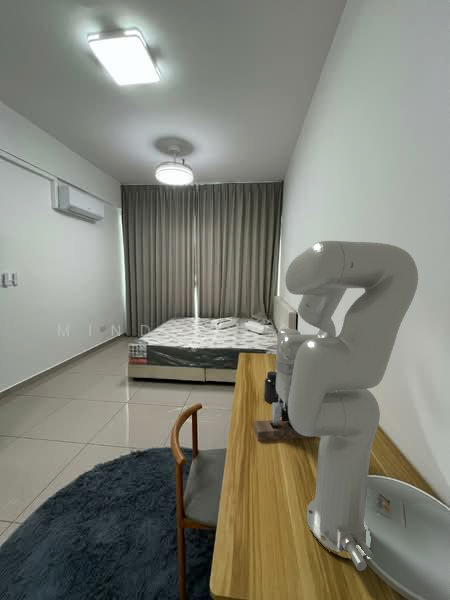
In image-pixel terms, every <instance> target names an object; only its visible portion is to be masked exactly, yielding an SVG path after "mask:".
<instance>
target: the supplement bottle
mask: <svg viewBox="0 0 450 600" xmlns="http://www.w3.org/2000/svg"><path fill="white" fill-rule="evenodd" d="M266 373H267V375H266V378H264V390H263V400H264V401H265V402H267V403H269V404H272V403H277V402H278V398H279V396H278V393H277V392H276V375H277V372H276V371H268V372H266Z"/></svg>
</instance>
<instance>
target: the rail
mask: <svg viewBox="0 0 450 600" xmlns="http://www.w3.org/2000/svg"><path fill="white" fill-rule="evenodd" d="M253 432H254V434H255V437H256V439H257V441H272V440H273V441H274V440H291V439H292V440H293V439H309V438H311V439H312V438H316V437H317V436H314V437H311V436H304V435H301V434H299V433H298V432H296V431H295V430H294V428H293V427H292V425H290V423H289V421H286V422H283V421H282V419H280V426H273V424H272V419H270V420H253Z"/></svg>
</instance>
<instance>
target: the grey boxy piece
mask: <svg viewBox="0 0 450 600" xmlns="http://www.w3.org/2000/svg"><path fill="white" fill-rule="evenodd" d="M271 404H272V405H271V414H272V415H271V420H272V424H273V426H280V420H281V418H282V410H283V402H277V403H271ZM287 405H288V404H286V406H287ZM289 423H290V421H289ZM290 425H291V423H290Z"/></svg>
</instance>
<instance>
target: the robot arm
mask: <svg viewBox="0 0 450 600" xmlns="http://www.w3.org/2000/svg"><path fill="white" fill-rule="evenodd" d="M418 281H419V271H418V268H417V265H416V262H415V260H414V258H413V257H412V255H411V254H410V253H409V252H408V251H406V250H405V249H404V248H401V247H398V246H396V245H392V244H389V243H383V242H371V241H370V242H369V241H346V240H345V241H344V240H343V241H342V240H323V241H318V242H316V243H314V244H312V245H311V246H309V247H308V248H306V249H305V250H303V251H302V252H300V254H298V255H296V256H295V258H294V259H293V260H292V261H291V262H290V264H289V265H288V267H287V269H286V273H285V288H286V289H287V291H288V292H289V293H290V294H293V295H295V296H296V295H297V296H298V295H299V296H300V295H301V300H300V301H299V304H298V308H297V311H298V315H299V318H300V319H302V320H303V321H304V322H306V324H309V326H310V325H311V326H312V327H314V328H317V329H319V330H318V332H317V334H316V333H315V334H301V332H300V331H299V330H298V329H294V328H281V329H279V330H278V332H277V340H276V357H275V358H276V359H275V371H276V370H277V375H276V392H277V393H278V396H279V398H278V402H283V410H282V417H281V420H282V421H283V422H286V421H290V423H291V425H292V427H293V428H294V430H295V431H296V432H298V433H299V434H301V435H304V436H311V437H313V438H315V437H314V436H316V437H320V440H319V444H318V451H317V465H316V481H315V493H314V494H315V497H314V499H312V500H311V501H310V502H309V503H308V506H307V509H306V522H308V523H307V525H309V526H308V528H309V527H310V529H311V530H312V532H313V533H314V535H315V536H316V537H317V538H318V539H319V540H320V541H321V542H322V543H323V544H324V545H325V546H327V547H328V548H330V549H331V550H334V551H336V552H340V553H341V552H342V551H343V550H344V549H345V550H344V551H346V552H349V554H350V556H351V558H352V559H351V560H352V562H353V563H354V565H355V568H356V569H357V570H358V571H359V572H360V571H361V572H363V571H365V570H366V569H367V562H366V560H365V557H362V555H361V553H360V552H359V551H358V549H357V548H356V545H359V546H360V547H361V549H362V550H363V551H364V553H365V554H366V556H368V557H370V558H372V559H374V553H373V552H372V550H371V548H370V549H369V547H368V546H367V545H366V531H367V530H366V529H365V527H364V520H365V514H366V506H367V505H366V504H367V492H368V479H369V469H370V461H371V460H370V459H371V452H372V446H373V442H374V440H375V435H376V433H377V431H378V428H379V424H380V419H381V409H380V406H379V403H378V401H377V398H376V397H375V395H374V393H372V392H371V391H370V390H368V389H372V388H375V387H377V386H379V385H380V383H382V380H383V378H384V376H385V373H386V370H387V367H388V364H389V361H390V358H391V355H392V352H393V349H394V346H395V343H396V339H397V336H398V332H399V329H400V327H401V324H402V322H403V320H404V318H405V316H406V314H407V312H408V310H409V308H410V306H411V304H412V303H413V300H414V298H415V295H416V291H417V289H418V284H419V282H418ZM347 289H364V292H363V294H361V295H360V296H359V297H357V299H355V301H354V302H353V303H352V305H350V306H349V308H348V310H347V312H346V313H345V315H344V318H343V323H342V328H341V331H340V333H339V334H338V335H337V330H336V326H335V323H334V321H333V319H332V317H333V316H334V314H335V311H336V310H337V308H338V306H339V304H340V302H341V301H342V299H343V296H344V295H345V293H346V291H347ZM286 404H288V405H287V406H286ZM310 529H309V530H310ZM321 537H324V538H325V540H322V539H321ZM342 553H343V552H342Z"/></svg>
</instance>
